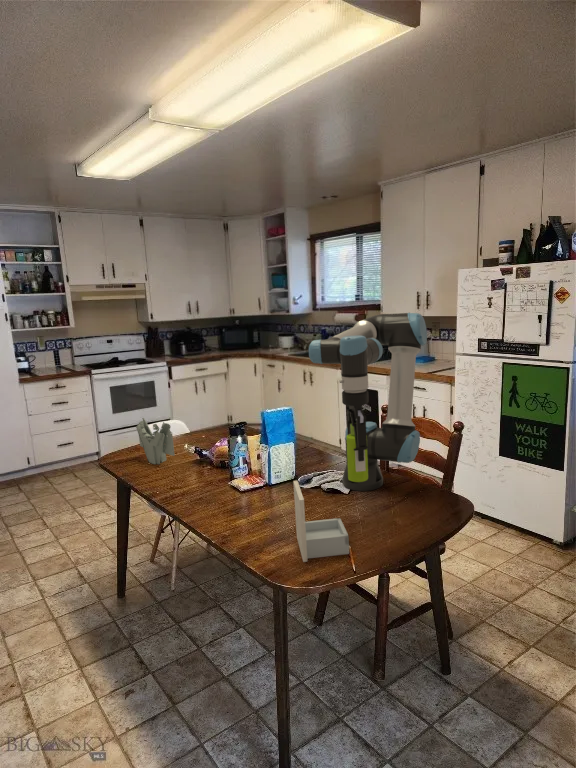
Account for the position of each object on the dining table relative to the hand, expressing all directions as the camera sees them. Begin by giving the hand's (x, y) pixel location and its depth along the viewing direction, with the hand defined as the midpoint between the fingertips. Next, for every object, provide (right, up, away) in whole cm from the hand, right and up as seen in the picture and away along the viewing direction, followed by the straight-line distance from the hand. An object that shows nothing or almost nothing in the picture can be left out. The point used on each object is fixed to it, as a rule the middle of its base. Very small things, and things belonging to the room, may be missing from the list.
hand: (357, 466), depth 144 cm
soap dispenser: (0, -4, +1) cm, 4 cm away
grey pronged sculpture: (-81, -12, +81) cm, 115 cm away
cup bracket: (-11, -22, -3) cm, 25 cm away
